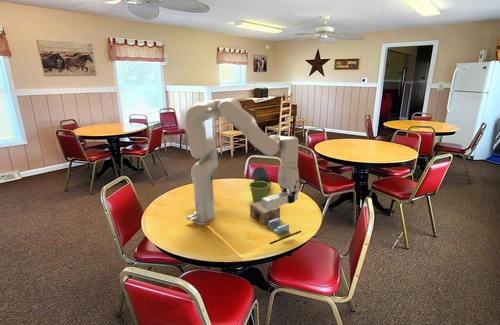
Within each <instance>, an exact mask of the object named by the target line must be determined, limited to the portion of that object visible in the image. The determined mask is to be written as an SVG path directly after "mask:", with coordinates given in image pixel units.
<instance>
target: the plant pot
mask: <svg viewBox="0 0 500 325" xmlns="http://www.w3.org/2000/svg"><path fill="white" fill-rule="evenodd" d="M269 185H270V186H271V183H270V184H269V183H267V182H264V181H255V182H254V181H252V182H249V184H248V187H249V188H250V192H251V197H252V202H253V203H257V202H260V201H262V198H264V197H268V190H269V189H268V187H269ZM269 188H270V187H269Z"/></svg>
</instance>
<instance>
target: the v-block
mask: <svg viewBox="0 0 500 325" xmlns="http://www.w3.org/2000/svg"><path fill="white" fill-rule="evenodd" d="M280 219H281V218H280ZM280 219H279V218H276V219H273V220H271V221H268V224H267V225H268V226H267V228H268V229H269V230H271V231H272V232H273V233H275V234H276V235H278V236H281V235H283V234H286V233H288V232H290V224H289V223H284V224H282V223H281V220H280ZM300 233H302V230H299V231H296V232H294V233H290V234H288V235H285V236H284V237H280V238H278V239H276V240H273V241H271V242H269V244H270V245H273V244H276V243H278V242H281V241H282V240H285V239H288V238H290V237H294V236H296V235H298V234H300Z"/></svg>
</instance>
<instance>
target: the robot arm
mask: <svg viewBox="0 0 500 325" xmlns="http://www.w3.org/2000/svg"><path fill="white" fill-rule="evenodd" d="M214 118H223V119H224V120H225V121H227V122H228V123H230V124H231V125H232V126H234V127H235V128H236V129H238V130H239V131H240V132H241V133H242V135H243V136H244V137H245V138H246V139H247V141H248V142H250V144H251V145H252V146H253V147H254V148H256V149H257V150H258V151H260V152H261V153H263V154H264V155H266V156H268V157H269V156H271V157H272V156H275V155H276V154H277V153H278V152H279V151H280V165H279V168H278V174H277V185H279V187H280V191H281V193H282V192H285V191H289V193H290V195H289V203H288V204H293V203H295V202H296V201H295V195H296V193H298V194H299V193H300V192H301V190H300V176H299V175H300V173H299V166H298V164H299V163H298V162H299V160H298V159H299V138H298V137H296V136H294V135H287V136H286V135H278V134H270V135H268V134H266V133H265V132H264V131H263V130H262V129H261V128H260V127H259V126H258V124H257V121H256V119H255V117H254V116H253V115H251V113H249V112H248V111H246V110H245V109H243V107H242V104H241V102H240V101H239V99H237V98H235V97H229V98H221V99H213V100H212V99H211V100H205V101H200V102H197V103H195V104H194V105H192V106H191V107H190V108H188V109H187V111H186V113H185V120H184V121H185V126H186V131H187V137H188V138H187V139H188V146H189V152H190V154H191V156H192V157H193V158H194V159H196V160H197V159H200V160H199V161H198V160H197V162H195V163H194V164H193V165H192V168H191V170H190V175H191V176H190V177H191V180H192V184H193V195H194V208H195V211H193V213H192V214H191V215H188V216H186V220H187V221H190V220H191V222H193V223H195V224H196V225H198V226H199V225H200V226H207V225H209V223H208V222H210V221H212V220H213V219H215V216H216V215H215V200H214V186H213V183H212V181H213V180H212V181H211V175H212V176H213V175H214V174H215V173H216V172H217V170H218V167H219V160H218V158H217V151H216V150H217V145H216V142H215V140H214V139H213V138H212V137H211V136H209V135H207V134H206V133H207V132H206V128H205V124H204V122H205V121H206V122H207V121H209V120H210V119H211V120H212V119H214ZM292 190H293V192H292Z"/></svg>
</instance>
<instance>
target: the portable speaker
mask: <svg viewBox="0 0 500 325" xmlns="http://www.w3.org/2000/svg"><path fill="white" fill-rule="evenodd" d="M252 177H253V182H255V181H264V182H267V183H269V184H270V185H269V187H268V190H270V187H271V181H270V178H269V174H268V173H267V170H266V169H265V168H264V167H263V166H257V167H256V168H254V169H253V172H252Z"/></svg>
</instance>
